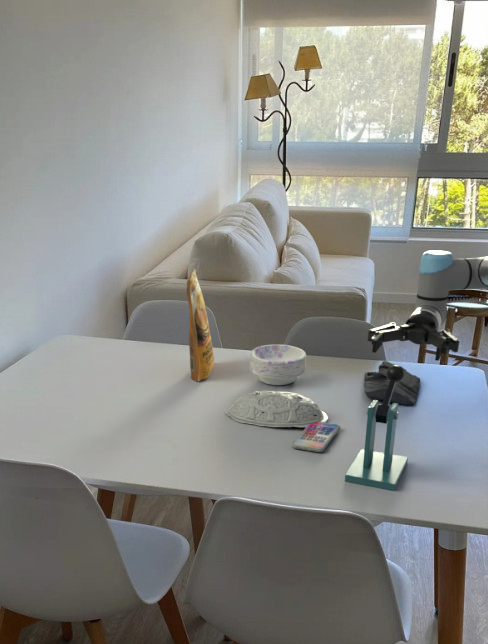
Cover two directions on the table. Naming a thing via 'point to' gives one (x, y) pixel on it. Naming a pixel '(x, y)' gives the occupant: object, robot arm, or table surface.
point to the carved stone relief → (276, 409)
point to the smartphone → (316, 436)
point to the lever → (389, 393)
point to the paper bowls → (277, 363)
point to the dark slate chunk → (402, 392)
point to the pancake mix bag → (199, 332)
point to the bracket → (378, 455)
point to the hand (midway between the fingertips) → (405, 350)
